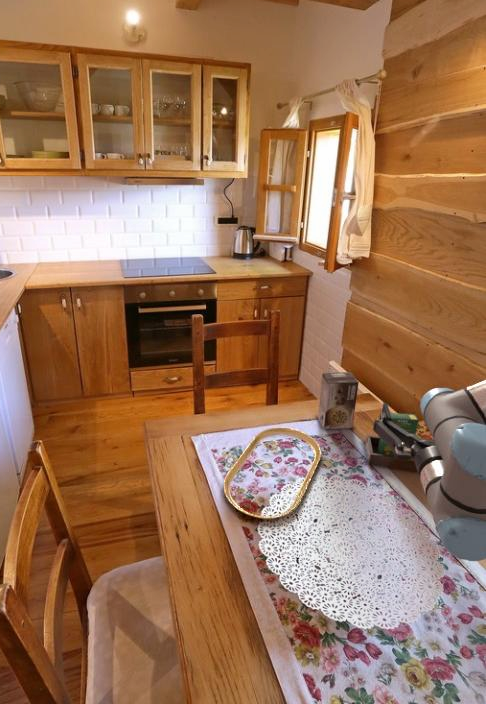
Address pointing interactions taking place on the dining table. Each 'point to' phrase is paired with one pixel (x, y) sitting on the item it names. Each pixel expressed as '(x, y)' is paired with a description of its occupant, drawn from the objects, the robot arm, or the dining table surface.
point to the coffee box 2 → (405, 422)
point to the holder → (386, 456)
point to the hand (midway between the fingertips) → (415, 411)
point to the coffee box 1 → (337, 400)
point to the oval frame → (250, 449)
